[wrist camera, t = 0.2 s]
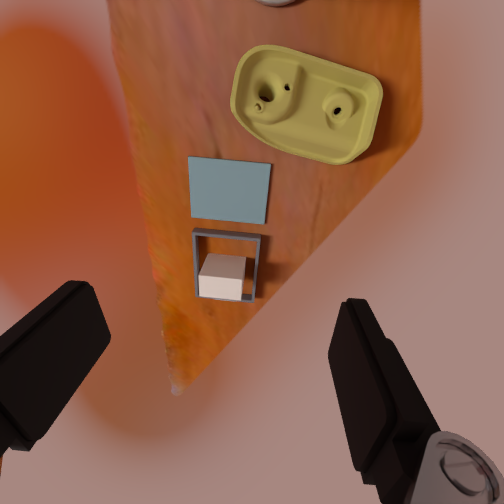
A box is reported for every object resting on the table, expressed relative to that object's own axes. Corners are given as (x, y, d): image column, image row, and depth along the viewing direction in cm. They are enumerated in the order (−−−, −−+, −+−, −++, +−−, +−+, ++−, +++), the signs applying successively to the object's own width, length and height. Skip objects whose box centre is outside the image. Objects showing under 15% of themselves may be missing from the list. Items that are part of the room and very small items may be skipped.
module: (208, 252, 51) (198, 275, 44) (246, 256, 51) (242, 279, 44) (208, 272, 54) (199, 296, 47) (244, 276, 53) (240, 300, 47)
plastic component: (387, 79, 33) (368, 154, 33) (357, 106, 40) (342, 167, 41) (243, 33, 30) (226, 115, 31) (239, 70, 37) (226, 136, 38)
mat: (188, 156, 41) (188, 156, 41) (270, 163, 41) (270, 164, 41) (192, 216, 47) (191, 217, 47) (264, 223, 47) (264, 224, 46)
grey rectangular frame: (194, 227, 48) (191, 232, 46) (261, 234, 48) (260, 238, 46) (197, 292, 57) (195, 298, 55) (254, 298, 56) (253, 304, 55)
